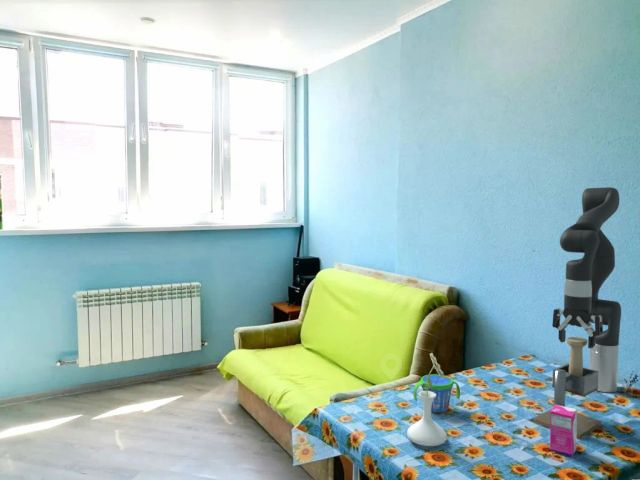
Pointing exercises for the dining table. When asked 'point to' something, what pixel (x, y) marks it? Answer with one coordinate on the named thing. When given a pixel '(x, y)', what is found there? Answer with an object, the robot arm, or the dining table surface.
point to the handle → (576, 354)
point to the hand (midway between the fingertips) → (576, 344)
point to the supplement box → (563, 430)
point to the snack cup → (438, 391)
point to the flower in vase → (428, 417)
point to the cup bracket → (576, 386)
